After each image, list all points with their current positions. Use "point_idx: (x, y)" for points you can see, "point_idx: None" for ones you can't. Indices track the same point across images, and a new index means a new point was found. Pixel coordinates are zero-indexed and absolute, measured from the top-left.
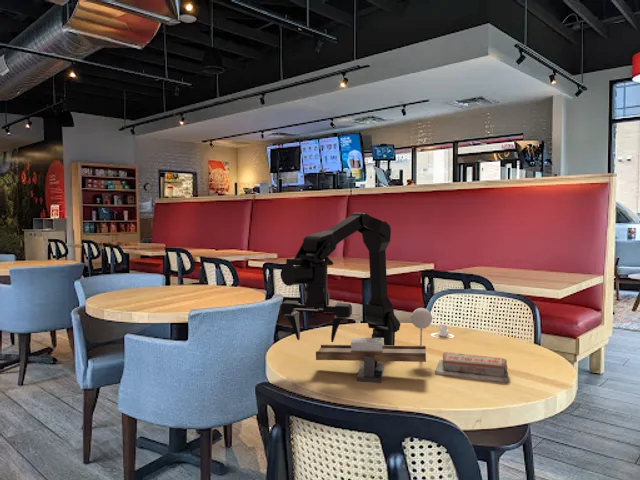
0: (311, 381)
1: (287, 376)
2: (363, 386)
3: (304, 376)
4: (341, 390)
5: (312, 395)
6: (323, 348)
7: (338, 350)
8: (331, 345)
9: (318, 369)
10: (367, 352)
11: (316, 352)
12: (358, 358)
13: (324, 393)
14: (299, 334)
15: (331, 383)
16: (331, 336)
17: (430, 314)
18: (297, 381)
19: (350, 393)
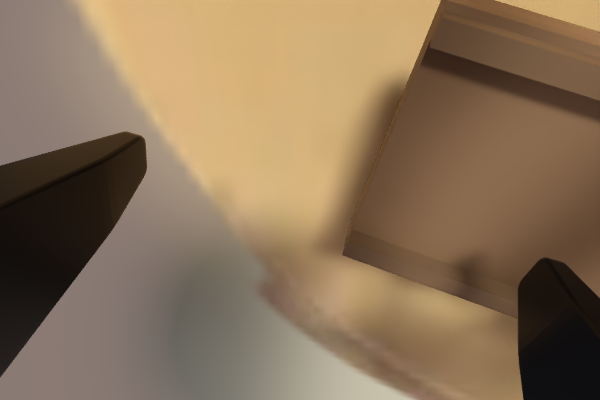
0: (331, 247)
1: (210, 173)
2: None
3: (297, 184)
4: (447, 342)
5: (328, 349)
6: (449, 100)
7: (587, 216)
8: (573, 91)
9: (394, 67)
10: None
11: (348, 252)
12: None
13: (373, 347)
14: (111, 186)
15: None
16: (521, 369)
17: None
18: (266, 238)
19: (474, 366)
